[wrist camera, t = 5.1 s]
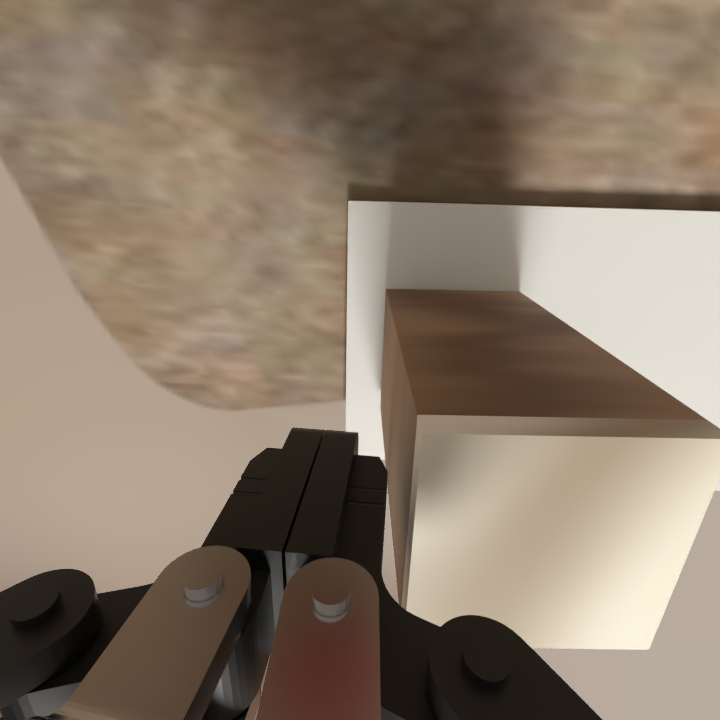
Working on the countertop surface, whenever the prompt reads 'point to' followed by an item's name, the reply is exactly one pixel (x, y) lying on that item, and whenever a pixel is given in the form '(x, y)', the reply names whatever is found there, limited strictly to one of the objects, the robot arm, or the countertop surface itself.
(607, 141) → the countertop surface
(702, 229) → the mat
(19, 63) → the countertop surface
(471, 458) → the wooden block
